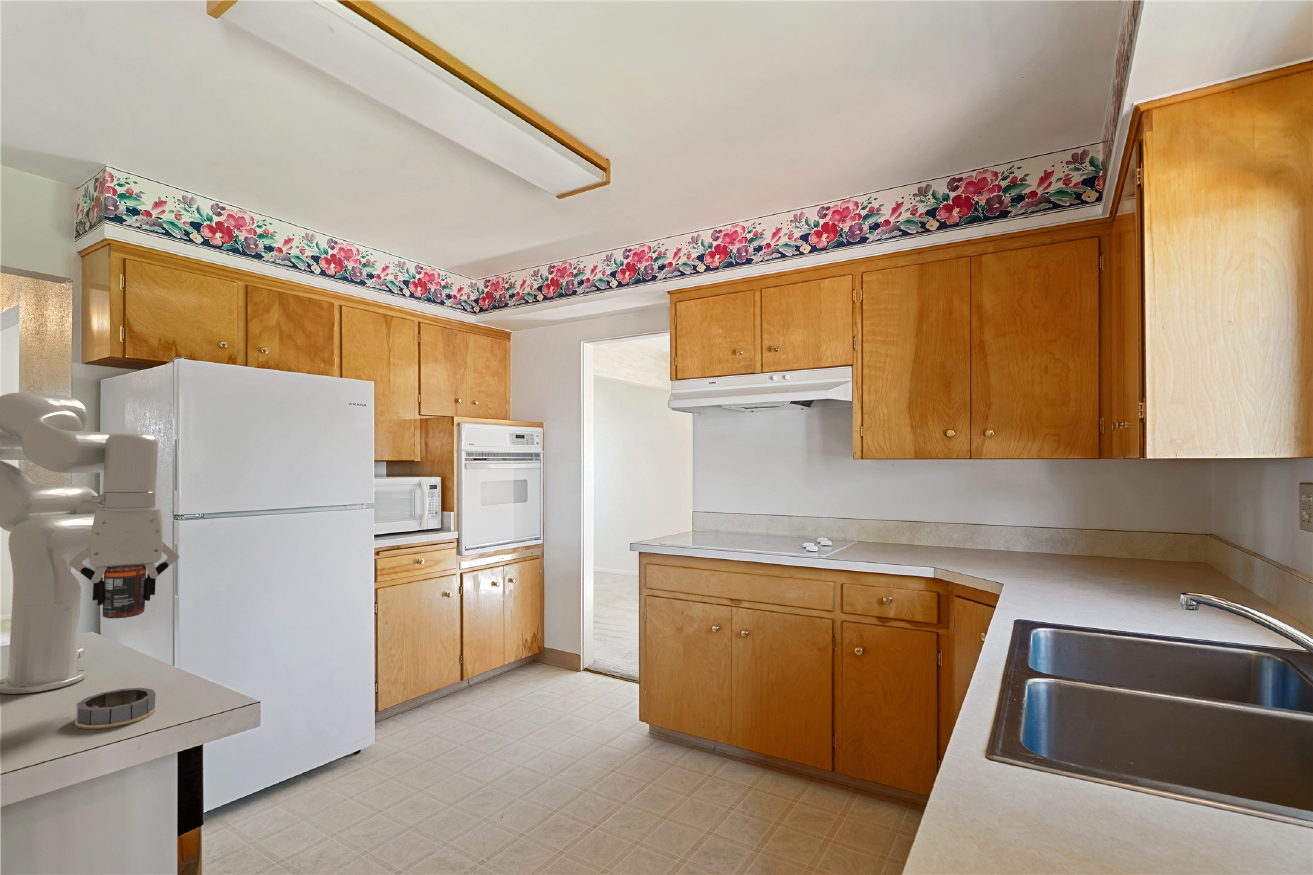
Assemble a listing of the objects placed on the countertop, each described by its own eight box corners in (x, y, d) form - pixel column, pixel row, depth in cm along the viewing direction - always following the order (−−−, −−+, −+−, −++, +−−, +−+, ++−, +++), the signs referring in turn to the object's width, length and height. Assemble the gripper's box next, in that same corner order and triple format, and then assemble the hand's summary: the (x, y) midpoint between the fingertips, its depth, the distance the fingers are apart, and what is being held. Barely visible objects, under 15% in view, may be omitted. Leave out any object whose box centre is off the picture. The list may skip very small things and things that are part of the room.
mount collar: (96, 707, 113) (97, 689, 113) (166, 702, 116) (167, 685, 116) (59, 731, 103) (60, 712, 103) (137, 726, 106) (138, 707, 106)
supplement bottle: (139, 610, 121) (142, 549, 122) (148, 615, 117) (152, 552, 118) (97, 615, 116) (101, 552, 117) (106, 621, 113) (109, 555, 113)
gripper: (63, 504, 109) (57, 612, 109) (189, 501, 120) (184, 599, 120) (66, 501, 115) (60, 603, 114) (186, 499, 126) (181, 592, 125)
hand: (124, 600), depth 117 cm, fingers closed on supplement bottle, 6 cm apart
